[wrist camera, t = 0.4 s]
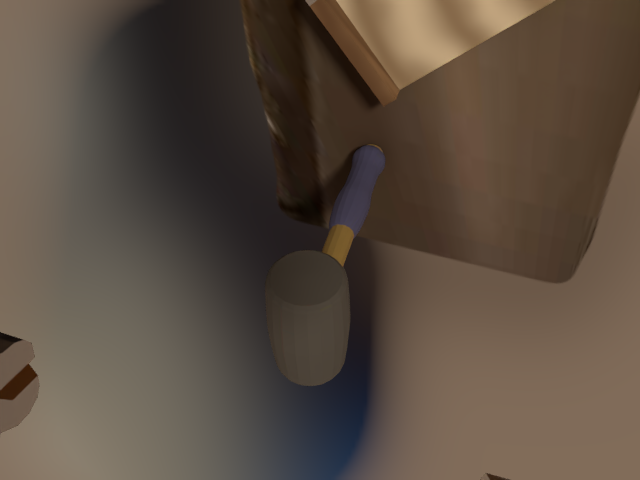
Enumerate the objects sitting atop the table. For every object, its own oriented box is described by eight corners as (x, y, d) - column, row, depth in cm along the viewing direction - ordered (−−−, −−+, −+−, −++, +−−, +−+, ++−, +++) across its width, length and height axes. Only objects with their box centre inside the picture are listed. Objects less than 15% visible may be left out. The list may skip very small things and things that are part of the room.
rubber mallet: (397, 196, 68) (337, 401, 48) (341, 186, 70) (261, 381, 50) (407, 112, 60) (338, 321, 39) (343, 104, 61) (246, 300, 41)
